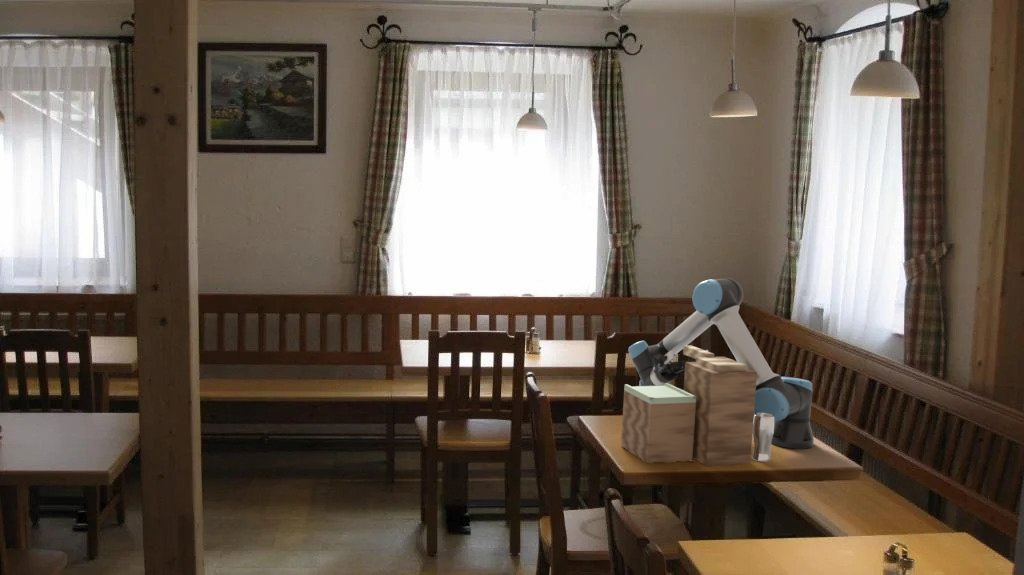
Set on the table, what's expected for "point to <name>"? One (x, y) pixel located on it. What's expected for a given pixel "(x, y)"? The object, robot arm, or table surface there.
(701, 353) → the cream cross-shaped block
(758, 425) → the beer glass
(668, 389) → the tray
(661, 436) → the wooden box
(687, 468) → the table surface
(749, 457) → the tall crate
